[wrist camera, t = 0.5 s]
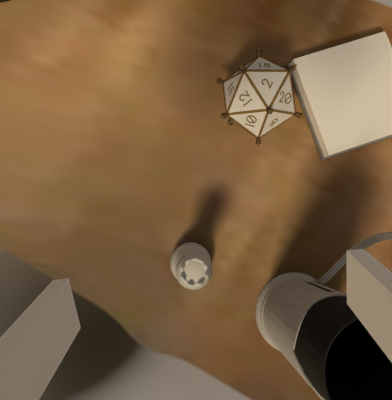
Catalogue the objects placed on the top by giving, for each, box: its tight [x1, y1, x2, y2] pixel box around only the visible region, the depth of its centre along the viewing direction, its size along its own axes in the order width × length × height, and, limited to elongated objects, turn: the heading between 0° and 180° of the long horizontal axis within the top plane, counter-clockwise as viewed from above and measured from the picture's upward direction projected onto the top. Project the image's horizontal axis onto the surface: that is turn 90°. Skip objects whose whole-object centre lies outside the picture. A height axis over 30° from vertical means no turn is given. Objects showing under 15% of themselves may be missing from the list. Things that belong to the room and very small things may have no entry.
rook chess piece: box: [170, 242, 213, 290], centre depth 31 cm, size 4×4×8 cm
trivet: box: [286, 31, 392, 160], centre depth 37 cm, size 12×12×2 cm
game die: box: [216, 48, 304, 147], centre depth 33 cm, size 9×8×10 cm
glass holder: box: [255, 232, 392, 400], centre depth 28 cm, size 9×14×15 cm, turn 154°
